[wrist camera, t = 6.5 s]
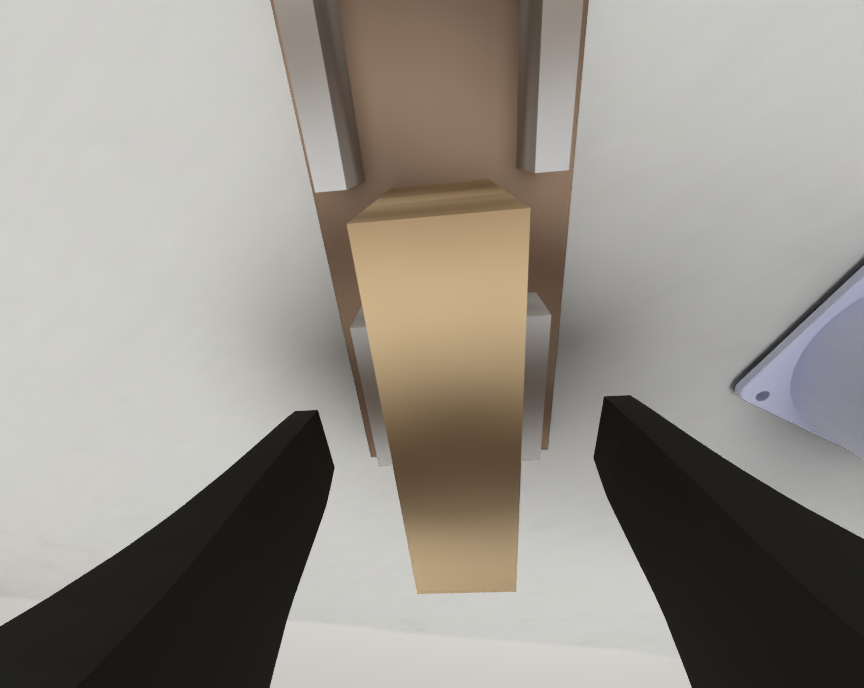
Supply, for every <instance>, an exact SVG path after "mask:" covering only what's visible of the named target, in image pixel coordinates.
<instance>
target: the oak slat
mask: <svg viewBox="0 0 864 688" xmlns="http://www.w3.org/2000/svg"><path fill="white" fill-rule="evenodd" d="M530 210H531V208H530V207H529V206H527V205H526V204H524V203H523V202H521V201H520V200H518V199H517V198H515V197H514V196H512V195H511V194H510V193H508V192H507V191H505V190H504V189H502V188H501V187H499V186H498V185H496V184H495V183H493V182H492V181H490V180H489V179H484V180H474V181H463V182H452V183H442V184H431V185H420V186H410V187H399V188H391V189H389V190H388V191H387V192H386V193H385V194H383V195H382V196H381V197H380V198H378V199H377V200H376V201H375V202H373V203H372V204H371V205H370V206H368V207H367V208H366V209H365V210H363V211H362V212H361V213H360V214H358V215H357V216H356V217H355V218H353V219H352V220H351V221H350V222H348V223H347V229H348V234H349V239H350V245H351V250H352V255H353V260H354V265H355V271H356V276H357V281H358V286H359V292H360V297H361V302H362V307H363V312H364V318H365V323H366V328H367V333H368V338H369V344H370V349H371V354H372V359H373V365H374V370H375V375H376V380H377V385H378V391H379V396H380V401H381V406H382V412H383V417H384V422H385V427H386V432H387V438H388V443H389V448H390V453H391V458H392V464H393V469H394V474H395V479H396V485H397V490H398V495H399V500H400V505H401V511H402V516H403V521H404V526H405V532H406V537H407V542H408V547H409V552H410V558H411V563H412V568H413V573H414V578H415V584H416V589H417V594H429V593H472V592H515V591H516V580H517V554H518V527H519V501H520V474H521V448H522V422H523V395H524V369H525V342H526V316H527V289H528V263H529V236H530Z"/></svg>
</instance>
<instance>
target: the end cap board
mask: <svg viewBox="0 0 864 688" xmlns="http://www.w3.org/2000/svg"><path fill="white" fill-rule="evenodd" d="M270 1H271V5H272V10H273V14H274V19H275V24H276V28H277V33H278V37H279V42H280V46H281V51H282V55H283V60H284V64H285V69H286V73H287V78H288V82H289V87H290V92H291V96H292V101H293V105H294V110H295V114H296V119H297V123H298V128H299V132H300V137H301V141H302V146H303V150H304V155H305V160H306V164H307V169H308V173H309V178H310V182H311V187H312V191H313V196H314V200H315V205H316V209H317V214H318V218H319V223H320V228H321V232H322V237H323V241H324V246H325V250H326V255H327V259H328V264H329V268H330V273H331V277H332V282H333V286H334V291H335V296H336V300H337V305H338V309H339V314H340V318H341V323H342V327H343V332H344V336H345V341H346V345H347V350H348V354H349V359H350V364H351V368H352V373H353V377H354V382H355V386H356V391H357V395H358V400H359V404H360V409H361V413H362V418H363V422H364V427H365V432H366V436H367V441H368V445H369V450H370V454H371V457H377V459H378V464H379V466H393V464H392V458H391V453H390V448H389V443H388V438H387V432H386V427H385V422H384V417H383V412H382V406H381V401H380V396H379V391H378V385H377V380H376V375H375V370H374V365H373V359H372V354H371V349H370V344H369V338H368V333H367V328H366V323H365V318H364V312H363V307H362V302H361V297H360V292H359V286H358V281H357V276H356V271H355V265H354V260H353V255H352V250H351V245H350V239H349V234H348V229H347V223H348V222H350V221H351V220H352V219H353V218H355V217H356V216H357V215H358V214H360V213H361V212H362V211H363V210H365V209H366V208H367V207H368V206H370V205H371V204H372V203H373V202H375V201H376V200H377V199H378V198H380V197H381V196H382V195H383V194H385V193H386V192H387V191H388V190H389V189H391V188H399V187H410V186H420V185H431V184H442V183H452V182H463V181H474V180H484V179H489V180H490V181H492V182H493V183H495V184H496V185H498V186H499V187H501V188H502V189H504V190H505V191H507V192H508V193H510V194H511V195H512V196H514V197H515V198H517V199H518V200H520V201H521V202H523V203H524V204H526V205H527V206H529V207H530V208H531V210H530V236H529V263H528V289H527V316H526V342H525V369H524V395H523V422H522V448H521V460H540V454H541V450H547V449H548V444H549V433H550V421H551V410H552V399H553V388H554V377H555V366H556V355H557V344H558V333H559V322H560V311H561V300H562V289H563V278H564V267H565V256H566V245H567V234H568V223H569V212H570V201H571V190H572V179H573V168H574V157H575V146H576V135H577V124H578V113H579V101H580V90H581V79H582V68H583V57H584V46H585V35H586V24H587V13H588V2H589V0H270Z"/></svg>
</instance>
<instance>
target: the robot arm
mask: <svg viewBox="0 0 864 688" xmlns="http://www.w3.org/2000/svg"><path fill="white" fill-rule="evenodd" d="M735 393H736V394H737V395H738V396H739V397H740V398H742V399H743V400H745V401H747V402H749V403H751V404H753V405H755V406H757V407H759V408H761V409H764V410H766V411H768V412H770V413H772V414H774V415H776V416H778V417H780V418H782V419H784V420H787V421H789V422H791V423H793V424H795V425H797V426H799V427H801V428H803V429H805V430H807V431H810V432H812V433H814V434H816V435H818V436H820V437H822V438H824V439H826V440H828V441H830V442H833V443H835V444H837V445H839V446H841V447H843V448H845V449H847V450H848V451H850V452H851V453H852V454H854V455H855V456H856V457H858V458H859V459H860V460H862V461H863V462H864V265H863V266H862V267H861V268H860V269H859V270H858V271H857V272H856V273H855V274H854V275H853V276H852V277H850V278H849V279H848V280H847V281H846V282H845V283H844V284H843V285H842V286H841V287H840V288H839V289H838V290H837V291H836V292H834V293H833V294H832V295H831V296H830V297H829V298H828V299H827V300H826V301H825V302H824V303H823V304H822V305H821V306H820V307H818V308H817V309H816V310H815V311H814V312H813V313H812V314H811V315H810V316H809V317H808V318H807V319H806V320H805V321H804V322H802V323H801V324H800V325H799V326H798V327H797V328H796V329H795V330H794V331H793V332H792V333H791V334H790V335H789V336H788V337H786V338H785V339H784V340H783V341H782V342H781V343H780V344H779V345H778V346H777V347H776V348H775V349H774V350H773V351H772V352H770V353H769V354H768V355H767V356H766V357H765V358H764V359H763V360H762V361H761V362H760V363H759V364H758V365H757V366H756V367H754V368H753V369H752V370H751V371H750V372H749V373H748V374H747V375H746V376H745V377H744V378H743V379H742V380H741V381H740V382H739V383H738V384H737V385H736V387H735ZM758 393H759V394H758ZM594 461H595V464H596V467H597V470H598V473H599V476H600V479H601V482H602V484H603V487H604V490H605V493H606V496H607V498H608V500H609V502H610V504H611V506H612V509H613V511H614V513H615V515H616V517H617V519H618V521H619V523H620V525H621V527H622V529H623V531H624V533H625V535H626V537H627V539H628V541H629V543H630V545H631V548H632V550H633V552H634V554H635V556H636V558H637V560H638V562H639V564H640V566H641V568H642V570H643V572H644V574H645V576H646V578H647V580H648V582H649V584H650V586H651V588H652V590H653V592H654V594H655V597H656V599H657V601H658V603H659V605H660V608H661V610H662V612H663V614H664V617H665V619H666V621H667V624H668V627H669V629H670V632H671V634H672V637H673V639H674V642H675V645H676V647H677V650H678V652H679V655H680V657H681V660H682V662H683V665H684V667H685V670H686V673H687V675H688V678H689V681H690V684H691V686H692V688H864V539H863V538H861V537H859V536H857V535H855V534H853V533H851V532H850V531H848V530H846V529H844V528H842V527H840V526H839V525H837V524H835V523H833V522H831V521H829V520H828V519H826V518H824V517H822V516H820V515H818V514H816V513H815V512H813V511H811V510H809V509H807V508H805V507H804V506H802V505H800V504H798V503H797V502H795V501H793V500H792V499H790V498H788V497H786V496H785V495H783V494H781V493H779V492H778V491H776V490H775V489H773V488H771V487H770V486H768V485H766V484H765V483H763V482H761V481H760V480H758V479H756V478H755V477H753V476H751V475H750V474H748V473H747V472H745V471H743V470H742V469H740V468H739V467H737V466H735V465H734V464H732V463H731V462H729V461H728V460H726V459H724V458H723V457H721V456H720V455H718V454H717V453H715V452H714V451H712V450H711V449H709V448H708V447H706V446H705V445H703V444H702V443H700V442H699V441H697V440H696V439H694V438H693V437H691V436H690V435H688V434H687V433H685V432H684V431H682V430H681V429H679V428H678V427H677V426H675V425H674V424H672V423H671V422H669V421H668V420H666V419H665V418H663V417H662V416H661V415H659V414H658V413H656V412H655V411H653V410H652V409H650V408H649V407H647V406H646V405H644V404H643V403H641V402H640V401H638V400H637V399H635V398H633V397H632V396H630V395H626V396H605V397H604V400H603V406H602V412H601V418H600V424H599V429H598V435H597V441H596V447H595V453H594ZM333 472H334V464H333V461H332V457H331V454H330V450H329V447H328V443H327V440H326V436H325V433H324V430H323V426H322V423H321V419H320V416H319V412H318V410H310V411H295V412H293V413H292V414H291V415H290V416H288V417H287V418H286V419H285V420H284V421H283V422H281V423H280V424H279V425H278V426H277V427H276V428H274V429H273V430H272V431H271V432H270V433H269V434H268V435H267V436H265V437H264V438H263V439H262V440H261V441H260V442H259V443H258V444H256V445H255V446H254V447H253V448H252V449H251V450H250V451H248V452H247V453H246V454H245V455H244V456H243V457H241V458H240V459H239V460H238V461H237V462H236V463H235V464H233V465H232V466H231V467H230V468H229V469H228V470H226V471H225V472H224V473H223V474H222V475H220V476H219V477H218V478H217V479H215V480H214V481H213V482H212V483H211V484H209V485H208V486H207V487H206V488H204V489H203V490H202V491H201V492H199V493H198V494H197V495H196V496H194V497H193V498H192V499H191V500H190V501H188V502H187V503H186V504H185V505H183V506H182V507H181V508H179V509H178V510H177V511H176V512H174V513H173V514H172V515H170V516H169V517H168V518H166V519H165V520H164V521H162V522H161V523H159V524H158V525H157V526H155V527H154V528H153V529H151V530H150V531H148V532H147V533H145V534H144V535H143V536H141V537H140V538H138V539H137V540H136V541H134V542H133V543H131V544H130V545H129V546H127V547H126V548H124V549H123V550H121V551H120V552H118V553H117V554H115V555H114V556H112V557H111V558H109V559H108V560H106V561H105V562H103V563H101V564H100V565H98V566H97V567H95V568H94V569H92V570H91V571H89V572H88V573H86V574H84V575H83V576H81V577H80V578H78V579H77V580H75V581H74V582H72V583H70V584H69V585H67V586H66V587H64V588H63V589H61V590H60V591H58V592H56V593H55V594H53V595H52V596H50V597H49V598H47V599H45V600H44V601H42V602H40V603H39V604H37V605H35V606H34V607H32V608H30V609H29V610H27V611H25V612H24V613H22V614H20V615H19V616H17V617H15V618H14V619H12V620H10V621H9V622H7V623H5V624H4V625H2V626H0V688H270V683H271V680H272V675H273V671H274V667H275V663H276V659H277V656H278V652H279V648H280V644H281V640H282V637H283V633H284V629H285V624H286V621H287V618H288V615H289V612H290V608H291V605H292V602H293V599H294V596H295V593H296V590H297V587H298V585H299V582H300V579H301V576H302V573H303V571H304V568H305V565H306V562H307V559H308V556H309V554H310V551H311V548H312V545H313V542H314V540H315V537H316V534H317V531H318V528H319V525H320V522H321V519H322V516H323V513H324V511H325V508H326V504H327V500H328V496H329V491H330V487H331V482H332V477H333Z"/></svg>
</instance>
